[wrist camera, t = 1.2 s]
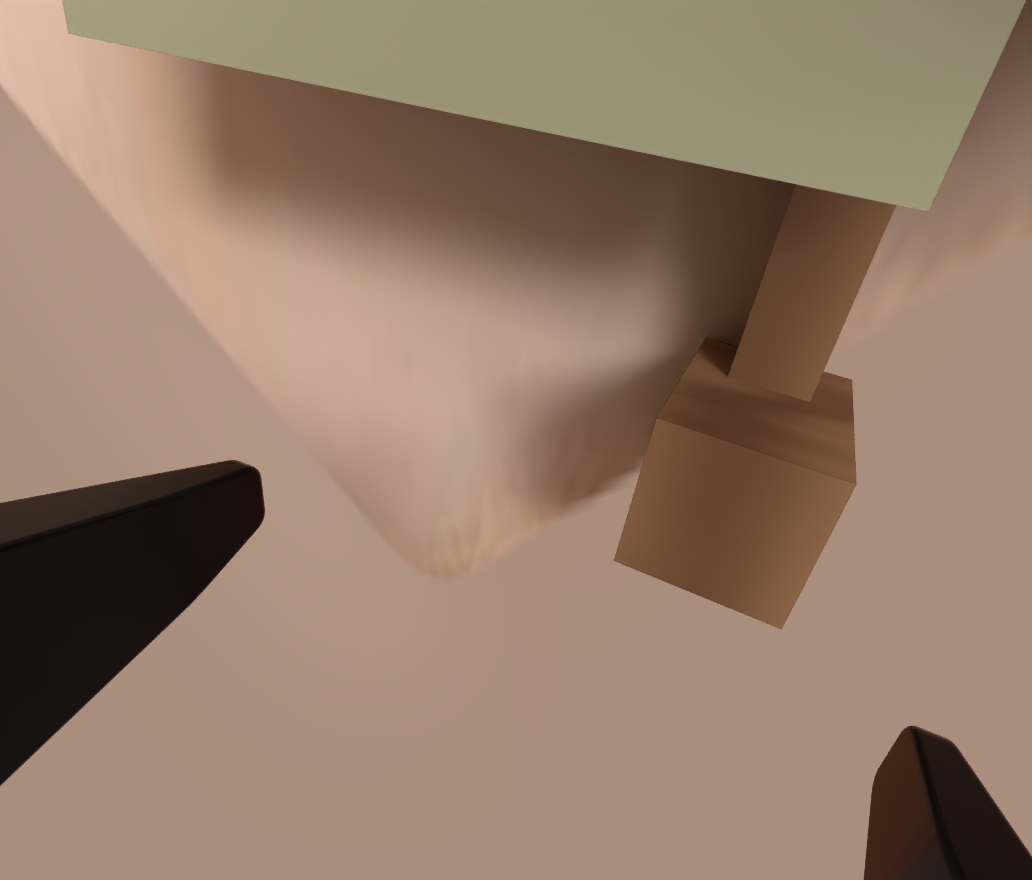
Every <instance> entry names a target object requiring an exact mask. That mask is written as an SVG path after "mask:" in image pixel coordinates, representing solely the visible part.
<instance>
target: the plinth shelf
mask: <svg viewBox="0 0 1032 880" xmlns="http://www.w3.org/2000/svg"><path fill="white" fill-rule="evenodd" d="M62 1H63V7H64V12H65V18H66V23H67V29H68V34H73V35H78V36H82V37H87V38H92V39H97V40H102V41H106V42H111V43H116V44H121V45H126V46H131V47H135V48H140V49H145V50H150V51H155V52H160V53H164V54H169V55H174V56H179V57H184V58H189V59H193V60H198V61H203V62H208V63H213V64H218V65H222V66H227V67H232V68H237V69H242V70H246V71H251V72H256V73H261V74H266V75H271V76H275V77H280V78H285V79H290V80H295V81H300V82H304V83H309V84H314V85H319V86H324V87H329V88H333V89H338V90H343V91H348V92H353V93H358V94H362V95H367V96H372V97H377V98H382V99H387V100H391V101H396V102H401V103H406V104H411V105H415V106H420V107H425V108H430V109H435V110H440V111H444V112H449V113H454V114H459V115H464V116H469V117H473V118H478V119H483V120H488V121H493V122H498V123H502V124H507V125H512V126H517V127H522V128H527V129H531V130H536V131H541V132H546V133H551V134H555V135H560V136H565V137H570V138H575V139H580V140H584V141H589V142H594V143H599V144H604V145H609V146H613V147H618V148H623V149H628V150H633V151H638V152H642V153H647V154H652V155H657V156H662V157H667V158H671V159H676V160H681V161H686V162H691V163H696V164H700V165H705V166H710V167H715V168H720V169H724V170H729V171H734V172H739V173H744V174H749V175H753V176H758V177H763V178H768V179H773V180H778V181H782V182H787V183H792V184H797V185H802V186H807V187H811V188H816V189H821V190H826V191H831V192H836V193H840V194H845V195H850V196H855V197H860V198H864V199H869V200H874V201H879V202H884V203H889V204H893V205H898V206H903V207H908V208H913V209H918V210H922V211H927V212H928V211H929V209H930V207H931V205H932V203H933V200H934V198H935V196H936V194H937V192H938V190H939V187H940V185H941V183H942V181H943V179H944V177H945V174H946V172H947V170H948V168H949V166H950V164H951V161H952V159H953V157H954V155H955V153H956V151H957V149H958V146H959V144H960V142H961V140H962V138H963V136H964V133H965V131H966V129H967V127H968V125H969V123H970V120H971V118H972V116H973V114H974V112H975V110H976V108H977V105H978V103H979V101H980V99H981V97H982V95H983V92H984V90H985V88H986V86H987V84H988V82H989V79H990V77H991V75H992V73H993V71H994V69H995V66H996V64H997V62H998V60H999V58H1000V56H1001V54H1002V51H1003V49H1004V47H1005V45H1006V43H1007V41H1008V38H1009V36H1010V34H1011V32H1012V30H1013V28H1014V25H1015V23H1016V21H1017V19H1018V17H1019V15H1020V13H1021V10H1022V8H1023V6H1024V4H1025V2H1026V0H62Z"/></svg>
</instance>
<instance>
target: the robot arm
mask: <svg viewBox="0 0 1032 880" xmlns="http://www.w3.org/2000/svg"><path fill="white" fill-rule="evenodd" d="M264 514H265V507H264V498H263V489H262V481H261V475H260V473H259V471H258V469H256V468H255V467H253V466H251V465H248V464H245V463H242V462H240V461H237V460H228V461H223V462H218V463H212V464H207V465H201V466H196V467H191V468H186V469H180V470H175V471H169V472H164V473H158V474H153V475H148V476H142V477H137V478H131V479H126V480H121V481H115V482H110V483H105V484H99V485H94V486H89V487H83V488H79V489H73V490H68V491H62V492H56V493H51V494H46V495H40V496H35V497H30V498H24V499H19V500H14V501H8V502H3V503H0V786H1V785H2V784H3V783H4V782H5V781H6V780H7V779H8V778H9V777H10V776H11V775H12V774H13V773H14V772H15V771H17V770H18V769H19V767H21V766H22V765H23V764H24V763H25V762H26V761H27V760H28V759H29V758H30V757H31V756H32V755H33V754H34V753H35V752H36V751H38V750H39V749H40V748H41V747H42V746H43V745H44V744H45V743H46V742H47V741H48V740H49V739H50V738H51V737H52V736H53V735H54V734H55V733H56V732H57V731H59V730H60V729H61V728H62V727H63V726H64V725H65V724H66V723H67V722H68V721H69V720H70V719H71V718H72V717H73V716H74V715H75V714H76V713H77V712H78V711H79V710H81V709H82V708H83V707H84V706H85V704H87V703H88V702H89V701H90V700H91V699H92V698H93V697H94V696H95V695H96V694H97V693H98V692H99V691H100V690H101V689H103V688H104V687H105V686H106V685H107V684H108V683H109V682H110V681H111V680H112V679H113V678H114V677H115V676H116V675H117V674H118V673H119V672H120V671H122V670H123V668H125V667H126V666H127V665H128V664H129V663H130V662H131V661H132V660H133V659H134V658H135V657H136V656H137V655H138V654H139V653H140V652H141V651H143V649H144V648H146V647H147V646H148V645H149V644H150V643H151V642H152V641H153V640H154V639H155V638H156V637H157V636H158V635H159V634H160V633H161V632H162V631H164V630H165V629H166V628H167V627H168V626H169V625H170V624H171V623H172V622H173V621H174V620H175V619H176V618H177V617H178V616H179V615H180V614H181V613H182V612H183V611H184V610H185V609H186V608H187V607H188V606H189V605H190V604H191V603H192V602H193V601H194V600H195V599H196V598H197V597H198V596H199V595H200V594H201V593H202V592H203V591H204V589H205V588H206V587H207V586H208V585H209V584H210V583H211V581H212V580H213V579H214V578H215V577H216V576H217V575H218V573H219V572H220V571H221V570H222V569H223V568H224V567H225V566H226V564H227V563H228V562H229V561H230V560H231V559H232V558H233V556H234V555H235V554H236V553H237V552H238V551H239V550H240V548H241V547H242V546H243V545H244V544H245V543H246V542H247V540H248V539H249V538H250V537H251V536H252V535H253V534H254V532H255V531H256V530H257V529H258V528H259V526H260V525H261V523H262V521H263V519H264ZM864 880H1032V856H1031V854H1030V853H1029V851H1028V850H1027V848H1026V847H1025V846H1024V844H1023V843H1022V841H1021V840H1020V838H1019V837H1018V835H1017V834H1016V832H1015V831H1014V829H1013V828H1012V826H1011V825H1010V824H1009V822H1008V821H1007V819H1006V818H1005V816H1004V815H1003V813H1002V812H1001V810H1000V809H999V807H998V806H997V805H996V803H995V802H994V800H993V799H992V797H991V796H990V794H989V793H988V791H987V790H986V788H985V787H984V785H983V784H982V783H981V781H980V780H979V778H978V777H977V775H976V774H975V772H974V771H973V770H972V768H971V766H970V765H969V764H968V762H967V761H966V759H965V758H964V756H963V755H962V753H961V752H960V751H959V749H958V748H957V746H956V745H955V744H954V743H953V742H952V741H950V740H948V739H947V738H945V737H942V736H940V735H937V734H934V733H932V732H929V731H927V730H924V729H922V728H919V727H916V726H908V727H907V728H905V729H904V730H903V731H902V732H901V733H900V735H899V737H898V738H897V740H896V741H895V743H894V745H893V746H892V748H891V749H890V751H889V752H888V754H887V756H886V757H885V759H884V760H883V762H882V764H881V765H880V767H879V768H878V770H877V773H876V775H875V779H874V782H873V787H872V795H871V805H870V816H869V828H868V838H867V849H866V860H865V871H864Z"/></svg>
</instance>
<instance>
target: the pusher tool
mask: <svg viewBox="0 0 1032 880" xmlns="http://www.w3.org/2000/svg"><path fill="white" fill-rule="evenodd" d="M895 206H896V205H893V204H889V203H884V202H879V201H874V200H869V199H864V198H860V197H855V196H850V195H845V194H840V193H836V192H831V191H826V190H821V189H816V188H811V187H807V186H802V185H797V184H796V185H795V188H794V191H793V193H792V196H791V199H790V202H789V205H788V208H787V210H786V213H785V216H784V219H783V222H782V225H781V227H780V230H779V233H778V236H777V239H776V242H775V244H774V247H773V250H772V253H771V256H770V259H769V261H768V264H767V267H766V270H765V273H764V276H763V279H762V281H761V284H760V287H759V290H758V293H757V296H756V298H755V301H754V304H753V307H752V310H751V313H750V315H749V318H748V321H747V324H746V327H745V330H744V332H743V335H742V338H741V341H740V344H739V347H736V346H732V345H729V344H726V343H722V342H719V341H715V340H712V339H708V338H705V340H704V341H703V343H702V345H701V346H700V348H699V350H698V351H697V353H696V355H695V356H694V358H693V359H692V361H691V363H690V364H689V366H688V368H687V369H686V371H685V373H684V374H683V376H682V377H681V379H680V381H679V382H678V384H677V386H676V387H675V389H674V391H673V392H672V394H671V395H670V397H669V399H668V400H667V402H666V404H665V405H664V407H663V409H662V410H661V412H660V413H659V415H658V417H657V418H656V422H655V425H654V428H653V432H652V435H651V438H650V442H649V445H648V448H647V452H646V455H645V458H644V462H643V465H642V468H641V472H640V475H639V478H638V482H637V485H636V488H635V492H634V495H633V499H632V502H631V505H630V509H629V512H628V515H627V518H626V522H625V525H624V529H623V532H622V535H621V539H620V542H619V545H618V549H617V552H616V555H615V559H614V561H616V562H619V563H621V564H623V565H625V566H628V567H630V568H633V569H635V570H638V571H640V572H643V573H645V574H648V575H650V576H652V577H655V578H658V579H660V580H662V581H665V582H667V583H669V584H672V585H674V586H677V587H679V588H682V589H684V590H687V591H689V592H691V593H694V594H696V595H699V596H702V597H704V598H706V599H709V600H711V601H713V602H716V603H718V604H721V605H723V606H726V607H728V608H731V609H733V610H735V611H738V612H740V613H743V614H746V615H748V616H750V617H753V618H755V619H757V620H760V621H762V622H765V623H767V624H770V625H772V626H775V627H777V628H779V629H782V628H783V626H784V624H785V622H786V620H787V618H788V616H789V614H790V612H791V610H792V608H793V606H794V605H795V603H796V600H797V599H798V597H799V594H800V593H801V591H802V589H803V587H804V585H805V583H806V581H807V579H808V577H809V576H810V574H811V571H812V570H813V568H814V566H815V564H816V562H817V560H818V558H819V556H820V554H821V552H822V550H823V548H824V546H825V545H826V543H827V541H828V539H829V537H830V535H831V533H832V531H833V529H834V527H835V525H836V523H837V521H838V519H839V518H840V515H841V514H842V512H843V510H844V507H845V506H846V504H847V502H848V500H849V498H850V496H851V494H852V492H853V490H854V488H855V486H856V463H855V441H854V440H855V439H854V415H853V392H852V380H851V379H847V378H844V377H840V376H837V375H833V374H830V373H826V372H823V371H824V369H825V367H826V364H827V362H828V360H829V357H830V355H831V353H832V350H833V348H834V346H835V344H836V341H837V339H838V337H839V334H840V332H841V330H842V327H843V325H844V323H845V321H846V318H847V316H848V314H849V311H850V309H851V307H852V305H853V302H854V300H855V298H856V295H857V293H858V291H859V288H860V286H861V284H862V282H863V279H864V277H865V275H866V272H867V270H868V268H869V265H870V263H871V261H872V259H873V256H874V254H875V252H876V249H877V247H878V245H879V243H880V240H881V238H882V236H883V233H884V231H885V229H886V226H887V224H888V222H889V220H890V217H891V215H892V213H893V210H894V208H895Z"/></svg>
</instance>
